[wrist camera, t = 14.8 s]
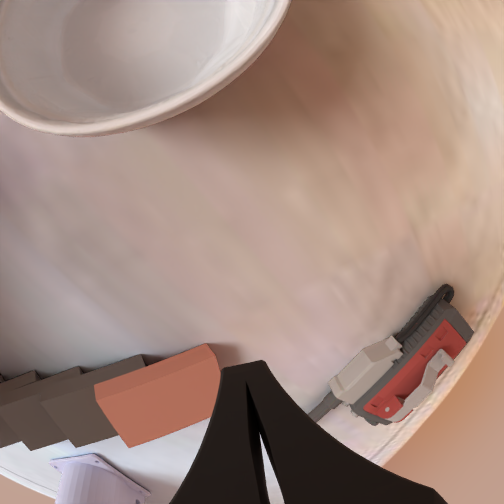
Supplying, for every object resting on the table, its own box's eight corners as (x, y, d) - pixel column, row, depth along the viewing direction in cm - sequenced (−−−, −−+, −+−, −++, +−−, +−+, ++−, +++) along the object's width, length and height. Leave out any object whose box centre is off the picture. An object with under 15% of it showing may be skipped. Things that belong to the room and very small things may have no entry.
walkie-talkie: (426, 262, 21) (263, 434, 24) (463, 286, 17) (273, 472, 20) (465, 311, 24) (326, 451, 27) (494, 334, 20) (339, 482, 23)
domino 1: (35, 381, 17) (-37, 408, 13) (65, 424, 19) (-4, 449, 15) (34, 370, 18) (-35, 396, 14) (62, 413, 20) (-4, 437, 16)
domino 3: (145, 367, 18) (40, 401, 15) (169, 416, 20) (75, 447, 16) (140, 353, 19) (41, 387, 16) (163, 403, 21) (74, 433, 18)
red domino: (215, 355, 18) (95, 400, 15) (231, 407, 20) (128, 448, 17) (206, 343, 20) (93, 384, 16) (221, 394, 21) (124, 432, 18)
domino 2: (81, 377, 18) (-5, 408, 14) (110, 424, 19) (30, 450, 16) (79, 365, 19) (-3, 395, 15) (106, 411, 21) (30, 437, 17)
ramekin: (68, -41, 10) (29, -91, 3) (271, -48, 12) (303, -112, 5) (29, 144, 14) (-46, 152, 7) (251, 144, 16) (284, 143, 10)
